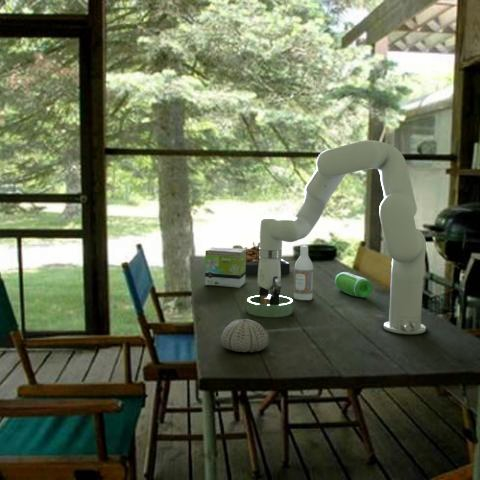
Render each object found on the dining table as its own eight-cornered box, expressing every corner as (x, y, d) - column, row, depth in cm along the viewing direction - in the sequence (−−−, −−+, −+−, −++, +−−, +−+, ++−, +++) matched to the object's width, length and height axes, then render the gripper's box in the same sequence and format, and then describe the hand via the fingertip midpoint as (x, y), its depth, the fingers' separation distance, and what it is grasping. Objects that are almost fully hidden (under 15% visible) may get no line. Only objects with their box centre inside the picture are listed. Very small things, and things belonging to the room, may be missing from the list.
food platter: (218, 258, 323) (219, 239, 321) (264, 257, 328) (265, 238, 327) (236, 274, 279) (237, 251, 278) (289, 273, 284) (289, 250, 283)
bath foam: (290, 299, 230) (291, 246, 228) (298, 296, 236) (299, 244, 234) (307, 301, 227) (309, 247, 224) (315, 298, 233) (316, 245, 230)
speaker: (333, 290, 248) (333, 271, 247) (348, 289, 251) (349, 270, 250) (356, 299, 232) (356, 279, 231) (372, 298, 234) (373, 278, 233)
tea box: (204, 285, 254) (204, 250, 252) (211, 281, 264) (211, 246, 262) (240, 288, 250) (240, 251, 248) (245, 283, 260) (246, 248, 258)
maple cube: (279, 312, 209) (279, 298, 208) (265, 313, 207) (265, 299, 206) (273, 309, 213) (274, 295, 213) (260, 310, 212) (260, 296, 211)
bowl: (293, 319, 202) (294, 305, 202) (247, 318, 203) (247, 304, 202) (290, 308, 218) (291, 295, 217) (247, 307, 218) (247, 294, 217)
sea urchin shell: (219, 341, 177) (219, 314, 176) (266, 341, 178) (267, 313, 177) (221, 356, 164) (221, 326, 163) (272, 355, 165) (272, 326, 163)
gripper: (251, 250, 214) (249, 299, 217) (269, 258, 198) (267, 311, 201) (271, 250, 217) (269, 298, 219) (291, 258, 201) (289, 309, 203)
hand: (268, 304), depth 210 cm, fingers open, 9 cm apart
